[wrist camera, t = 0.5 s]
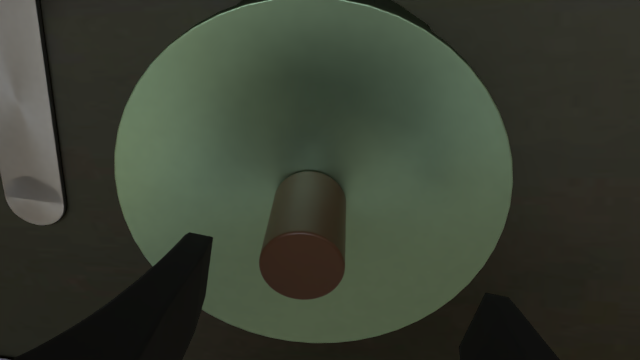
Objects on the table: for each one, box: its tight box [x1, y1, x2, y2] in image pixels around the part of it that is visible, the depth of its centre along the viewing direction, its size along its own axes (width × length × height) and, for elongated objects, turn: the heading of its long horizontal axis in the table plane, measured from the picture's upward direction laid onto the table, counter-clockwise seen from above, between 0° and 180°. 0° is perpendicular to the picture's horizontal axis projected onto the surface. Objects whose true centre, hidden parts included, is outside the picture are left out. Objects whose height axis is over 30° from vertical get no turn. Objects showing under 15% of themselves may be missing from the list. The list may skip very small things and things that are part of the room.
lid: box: [114, 0, 513, 343], centre depth 16 cm, size 13×13×5 cm
